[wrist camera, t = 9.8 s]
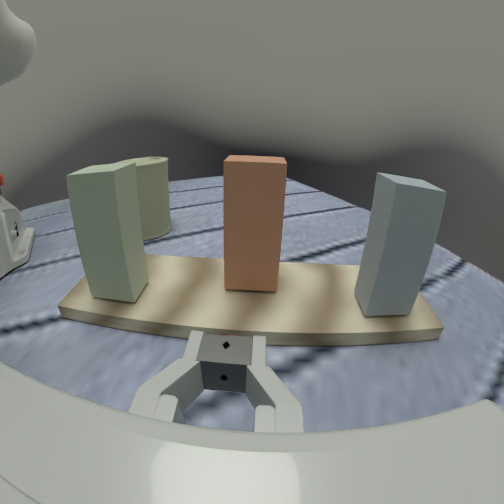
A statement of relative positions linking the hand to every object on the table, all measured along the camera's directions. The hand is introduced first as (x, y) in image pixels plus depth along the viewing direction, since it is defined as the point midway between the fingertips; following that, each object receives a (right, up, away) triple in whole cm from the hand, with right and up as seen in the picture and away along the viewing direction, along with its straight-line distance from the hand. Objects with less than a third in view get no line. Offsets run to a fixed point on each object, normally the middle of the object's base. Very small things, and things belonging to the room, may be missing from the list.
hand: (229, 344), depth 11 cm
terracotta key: (+1, +1, +18) cm, 18 cm away
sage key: (-12, 0, +15) cm, 19 cm away
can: (-17, +7, +33) cm, 38 cm away
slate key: (+14, -1, +14) cm, 20 cm away
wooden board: (+1, -1, +17) cm, 17 cm away
